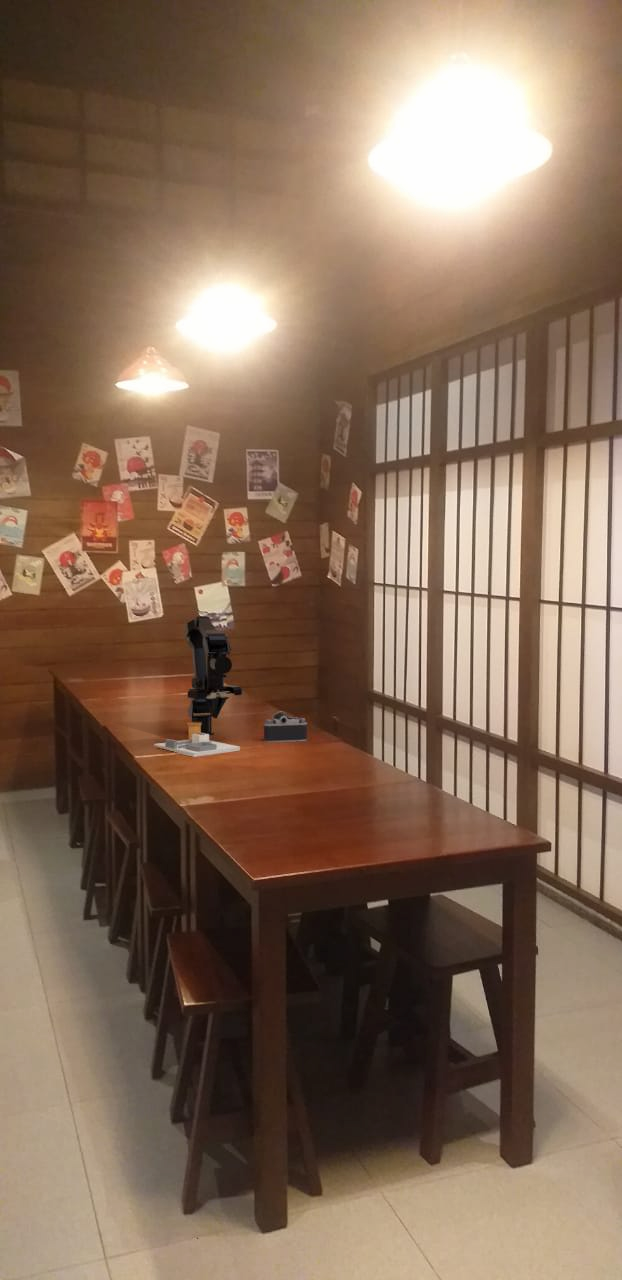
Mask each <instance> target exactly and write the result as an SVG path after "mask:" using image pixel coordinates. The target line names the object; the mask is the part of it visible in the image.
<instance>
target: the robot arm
mask: <svg viewBox="0 0 622 1280" xmlns="http://www.w3.org/2000/svg"><path fill="white" fill-rule="evenodd" d="M183 630H184V631H183V632H184V637H185V639H186V644H187V645H188V646H189V647H190V649H191V653H192V654H191V655H192V664H193V675H194V677H193V678H191V688H189V690H188V691H187V699H188V698H189V699H191V700H190V703H189V706H188V710H187V713H188V717H189V718H190V719H191V721H190V722H202V725H201V733H205V734H209V736H210V735H215V732H213V729H212V725H213V724H212V719H218V717H219V714H220V713H221V711H222V708H223V707H224V705H225V703H226V701H227V700H229V699H230V697H229V696H227V695H228V694H233V695H234V696H242V695H243V689H242V687H241V686H239V685H233V684H232V685H225V678H227V674H228V673H229V672H230V671H231V670H232V668H233V662H232V660H231V658H229V657H228V656H227V655H230V654H231V650H232V648H231V645H230V640H229V638H228V636H227V635H226V634H225V632H223V631H221V630H218V629H216V627H215V625H214V623H213V622H212V621H211V617H210V616H208V615H197V616H195V617H194V618H193V619H192V620H190V621H188V622H186V624H185V627H184V629H183Z"/></svg>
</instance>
